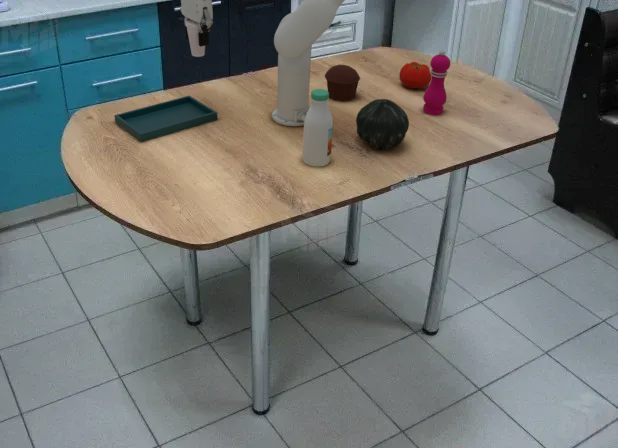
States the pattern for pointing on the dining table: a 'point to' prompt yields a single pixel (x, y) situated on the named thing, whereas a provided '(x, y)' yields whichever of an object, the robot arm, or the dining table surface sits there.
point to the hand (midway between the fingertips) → (197, 41)
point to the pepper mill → (436, 85)
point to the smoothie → (194, 38)
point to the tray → (165, 118)
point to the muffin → (342, 82)
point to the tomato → (415, 75)
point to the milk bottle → (318, 130)
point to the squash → (382, 124)
